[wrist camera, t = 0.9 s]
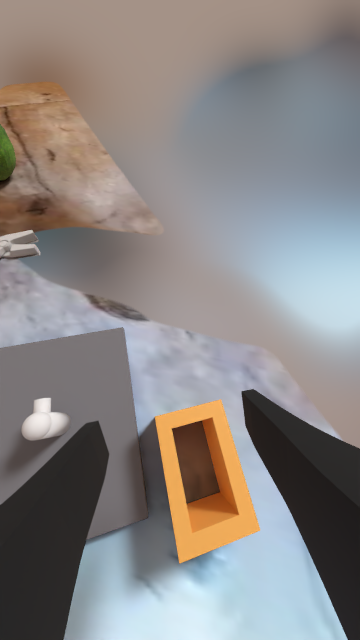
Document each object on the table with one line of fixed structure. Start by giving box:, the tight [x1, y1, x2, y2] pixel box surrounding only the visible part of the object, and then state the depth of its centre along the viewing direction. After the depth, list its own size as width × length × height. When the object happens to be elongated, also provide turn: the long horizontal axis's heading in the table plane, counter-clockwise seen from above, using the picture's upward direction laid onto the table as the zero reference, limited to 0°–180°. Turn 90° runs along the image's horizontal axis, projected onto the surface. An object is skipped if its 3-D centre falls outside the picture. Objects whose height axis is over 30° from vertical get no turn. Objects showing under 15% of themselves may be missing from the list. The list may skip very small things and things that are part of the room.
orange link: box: [155, 400, 260, 564], centre depth 18 cm, size 9×6×5 cm, turn 13°
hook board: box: [0, 327, 148, 540], centre depth 18 cm, size 18×14×6 cm
